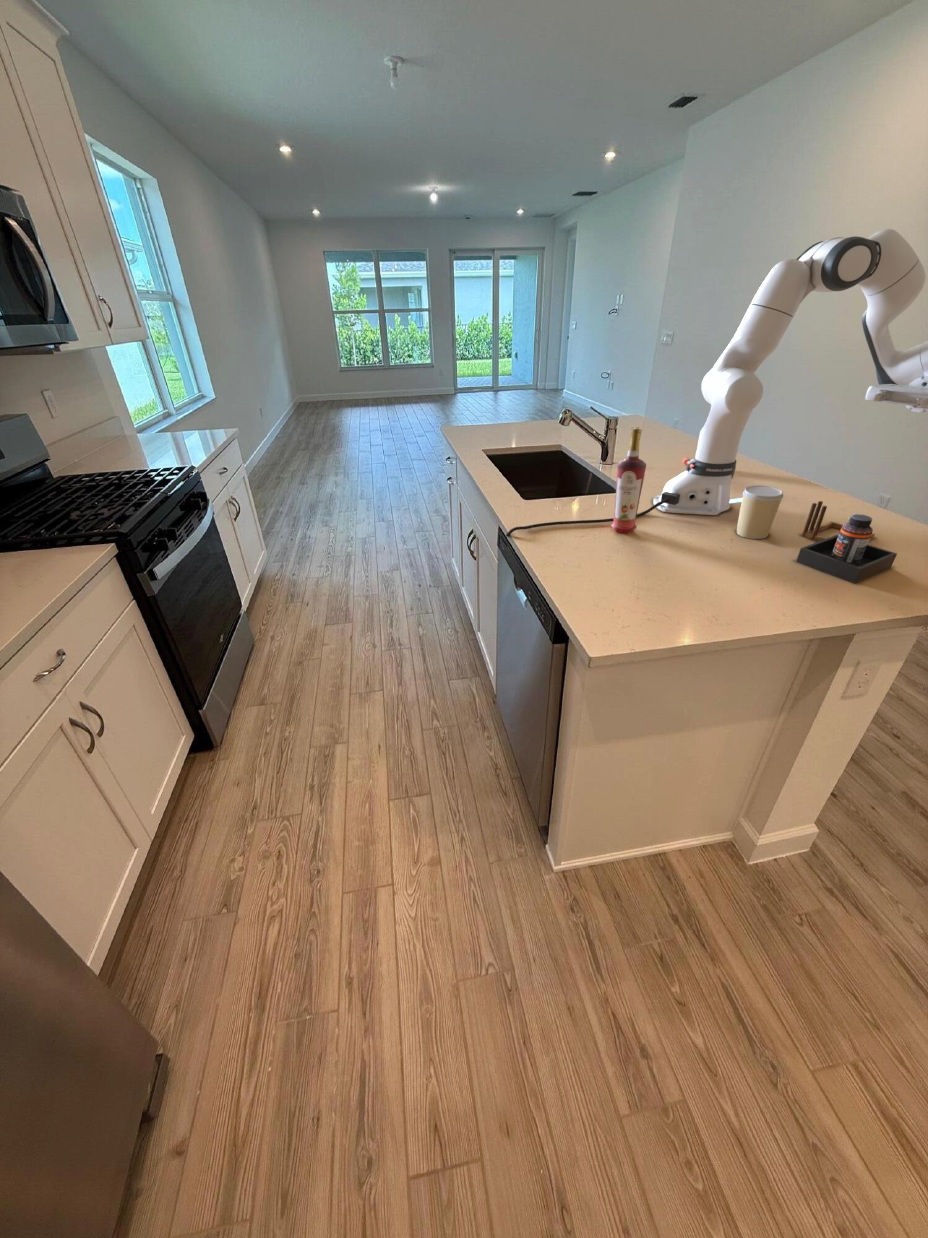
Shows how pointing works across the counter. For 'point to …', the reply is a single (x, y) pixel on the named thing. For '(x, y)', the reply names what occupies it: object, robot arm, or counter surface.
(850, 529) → the supplement bottle
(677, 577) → the counter surface
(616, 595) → the counter surface
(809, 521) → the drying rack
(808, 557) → the tray
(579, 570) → the counter surface
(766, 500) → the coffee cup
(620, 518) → the liquor
